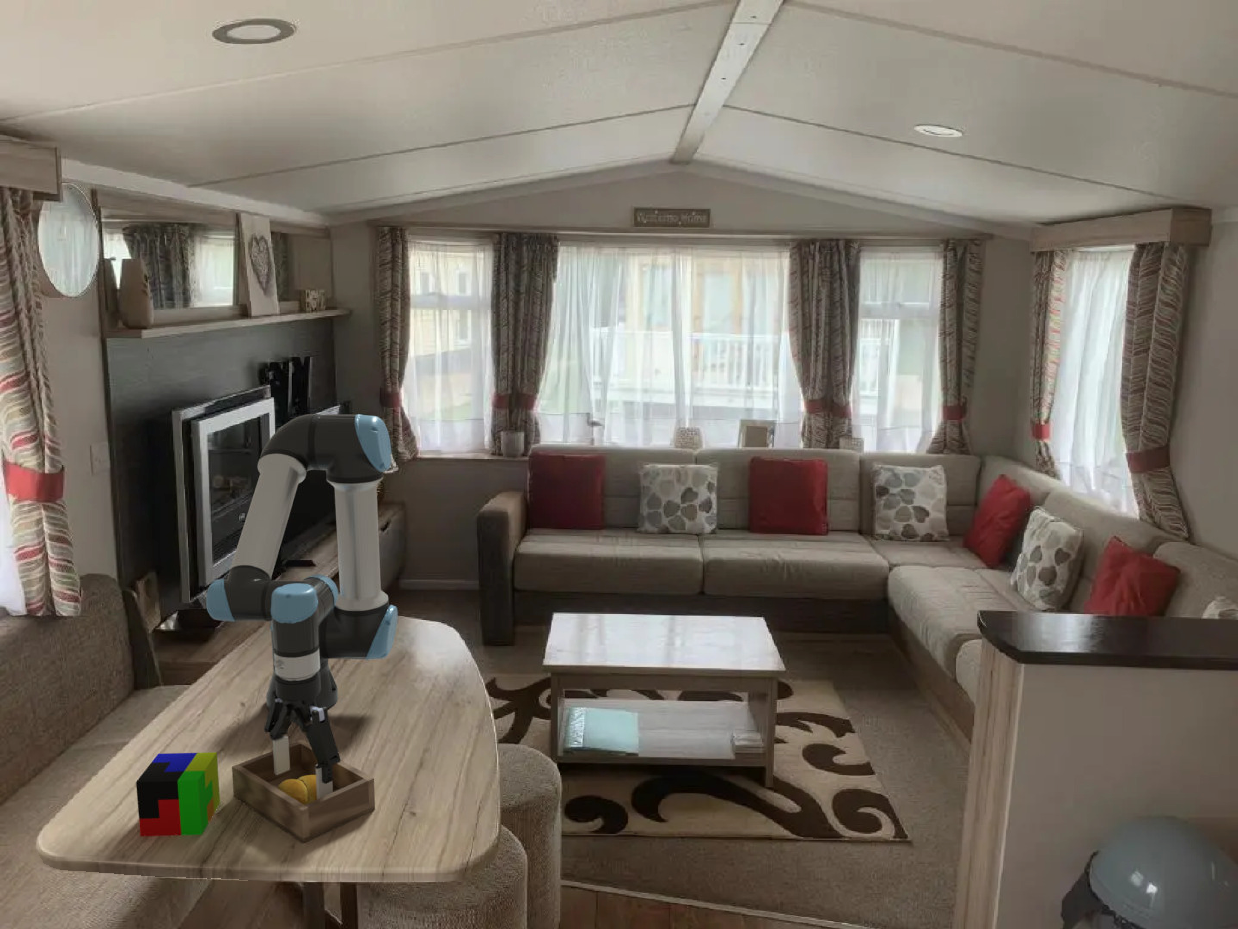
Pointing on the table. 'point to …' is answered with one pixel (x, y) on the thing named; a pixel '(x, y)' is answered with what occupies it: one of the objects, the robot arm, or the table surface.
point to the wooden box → (300, 821)
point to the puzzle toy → (178, 794)
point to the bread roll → (301, 788)
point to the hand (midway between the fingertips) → (303, 784)
